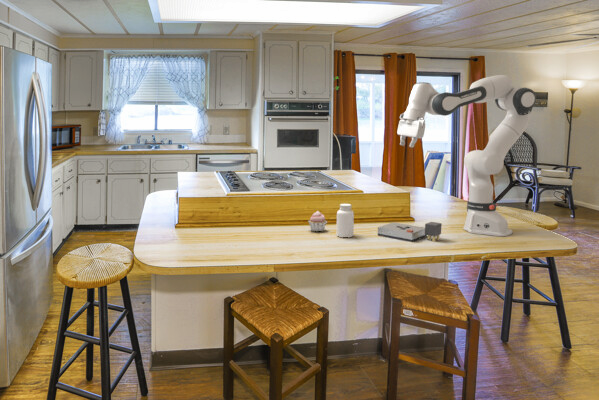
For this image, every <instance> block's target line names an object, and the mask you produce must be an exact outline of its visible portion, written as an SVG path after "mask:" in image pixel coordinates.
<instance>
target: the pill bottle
mask: <svg viewBox="0 0 599 400" xmlns="http://www.w3.org/2000/svg"><path fill="white" fill-rule="evenodd" d="M354 218H355V213H354V210H352V204H351V203H340V204H339V210H337V212H336V236H337V237H338V236H339V237H338V238H343V237H348V238H351V237H354V231H355V230H354V226H355V225H354V224H355V223H354V222H355V219H354Z"/></svg>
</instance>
